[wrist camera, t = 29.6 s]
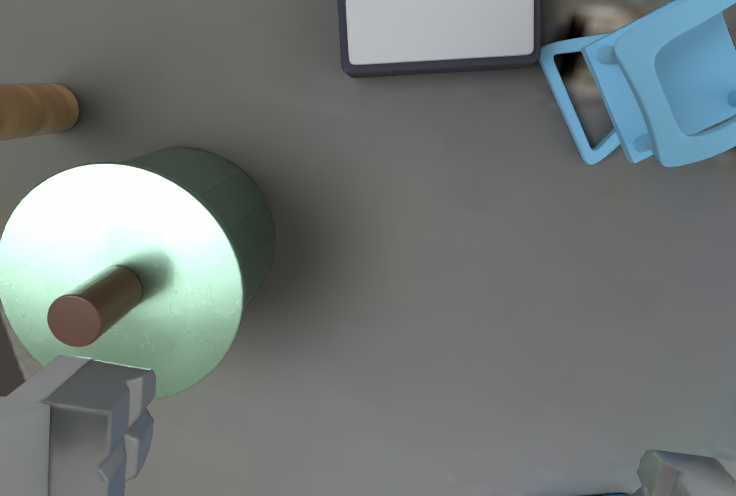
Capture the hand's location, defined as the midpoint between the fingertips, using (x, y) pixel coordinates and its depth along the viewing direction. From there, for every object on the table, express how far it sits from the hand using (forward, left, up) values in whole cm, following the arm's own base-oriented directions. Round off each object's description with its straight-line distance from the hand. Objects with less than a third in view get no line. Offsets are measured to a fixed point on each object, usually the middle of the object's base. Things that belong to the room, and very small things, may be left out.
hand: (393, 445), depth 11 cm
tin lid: (+6, -13, -21) cm, 25 cm away
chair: (-8, +12, -31) cm, 35 cm away
